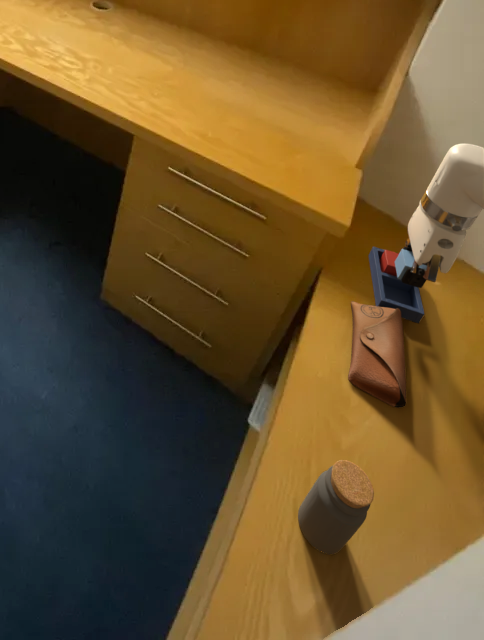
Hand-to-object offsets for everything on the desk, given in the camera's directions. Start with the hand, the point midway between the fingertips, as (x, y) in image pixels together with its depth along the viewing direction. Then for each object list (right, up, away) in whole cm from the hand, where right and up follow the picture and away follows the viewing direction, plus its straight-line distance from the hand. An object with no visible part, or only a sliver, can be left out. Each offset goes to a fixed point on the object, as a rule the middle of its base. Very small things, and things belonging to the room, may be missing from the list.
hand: (409, 273), depth 97 cm
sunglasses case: (-10, -12, -4) cm, 16 cm away
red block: (+3, -4, +9) cm, 10 cm away
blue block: (0, 0, 0) cm, 0 cm away
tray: (+1, -6, +7) cm, 9 cm away
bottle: (-31, -25, -25) cm, 47 cm away
